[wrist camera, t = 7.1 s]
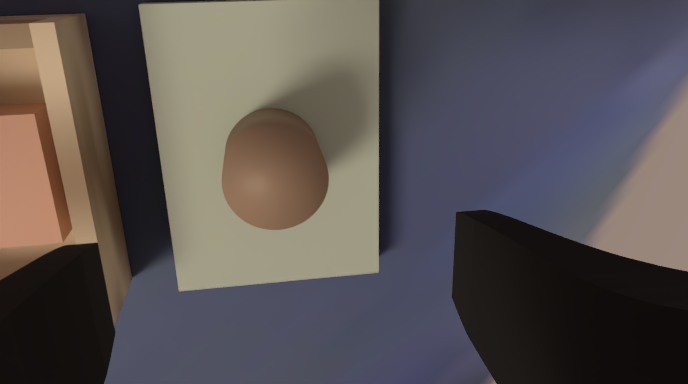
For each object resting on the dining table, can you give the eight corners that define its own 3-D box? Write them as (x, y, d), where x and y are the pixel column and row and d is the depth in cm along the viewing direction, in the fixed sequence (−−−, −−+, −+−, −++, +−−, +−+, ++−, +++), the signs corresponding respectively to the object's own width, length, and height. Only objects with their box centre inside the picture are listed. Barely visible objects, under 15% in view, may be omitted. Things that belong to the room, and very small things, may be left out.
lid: (371, 255, 22) (395, 311, 19) (182, 273, 21) (169, 335, 18) (370, -5, 19) (399, 2, 15) (145, 1, 18) (120, 10, 14)
